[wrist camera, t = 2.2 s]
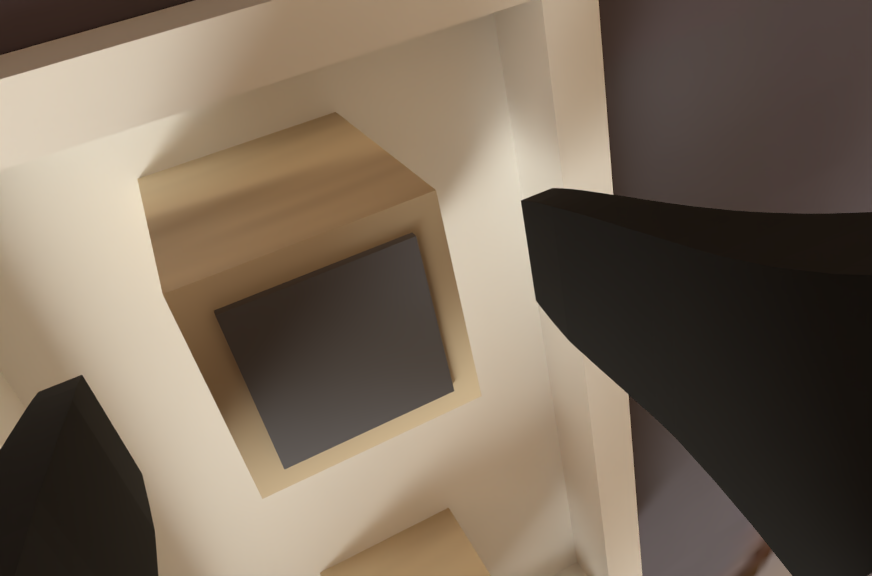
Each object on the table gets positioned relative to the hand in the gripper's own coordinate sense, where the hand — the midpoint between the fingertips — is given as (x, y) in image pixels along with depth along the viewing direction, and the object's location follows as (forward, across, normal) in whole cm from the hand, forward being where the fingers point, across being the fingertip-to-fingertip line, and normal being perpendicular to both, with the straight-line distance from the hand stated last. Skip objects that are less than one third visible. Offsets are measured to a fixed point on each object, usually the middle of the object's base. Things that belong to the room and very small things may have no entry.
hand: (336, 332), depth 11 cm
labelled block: (+4, 0, 0) cm, 5 cm away
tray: (+5, 0, +6) cm, 8 cm away
